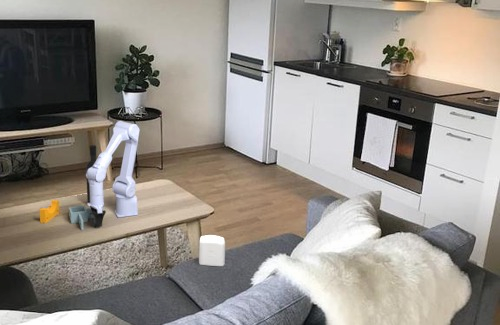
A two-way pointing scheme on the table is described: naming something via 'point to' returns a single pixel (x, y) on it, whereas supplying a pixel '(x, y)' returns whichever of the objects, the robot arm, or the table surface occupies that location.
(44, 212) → the pipe clamp
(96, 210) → the pin
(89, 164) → the wine bottle
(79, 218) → the square tube bracket
